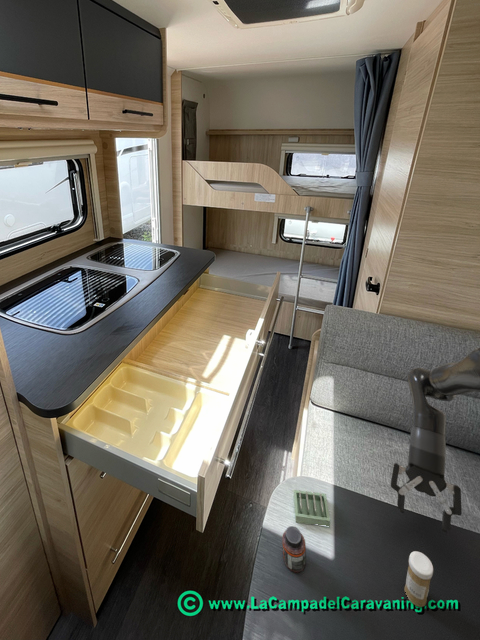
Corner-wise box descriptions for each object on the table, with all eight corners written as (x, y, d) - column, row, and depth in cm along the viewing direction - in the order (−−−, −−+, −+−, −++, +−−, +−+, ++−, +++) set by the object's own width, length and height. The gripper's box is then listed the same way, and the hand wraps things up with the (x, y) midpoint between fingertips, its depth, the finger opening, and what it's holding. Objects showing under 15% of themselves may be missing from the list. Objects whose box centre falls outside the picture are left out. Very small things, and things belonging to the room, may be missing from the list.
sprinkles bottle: (430, 599, 78) (438, 566, 73) (418, 612, 76) (425, 579, 71) (411, 578, 82) (417, 546, 77) (399, 590, 80) (405, 557, 75)
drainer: (325, 500, 101) (325, 493, 100) (330, 527, 94) (330, 520, 93) (293, 495, 103) (293, 489, 102) (295, 522, 97) (295, 515, 96)
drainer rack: (320, 502, 100) (321, 492, 99) (323, 521, 95) (323, 511, 94) (299, 499, 102) (299, 490, 100) (300, 517, 97) (300, 508, 96)
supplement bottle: (282, 545, 92) (281, 519, 88) (304, 548, 90) (304, 522, 86) (283, 571, 86) (282, 545, 82) (307, 575, 85) (306, 549, 81)
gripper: (395, 439, 85) (388, 509, 80) (465, 462, 77) (462, 542, 72) (394, 437, 91) (388, 503, 86) (459, 459, 83) (457, 533, 78)
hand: (422, 521), depth 79 cm, fingers open, 8 cm apart
